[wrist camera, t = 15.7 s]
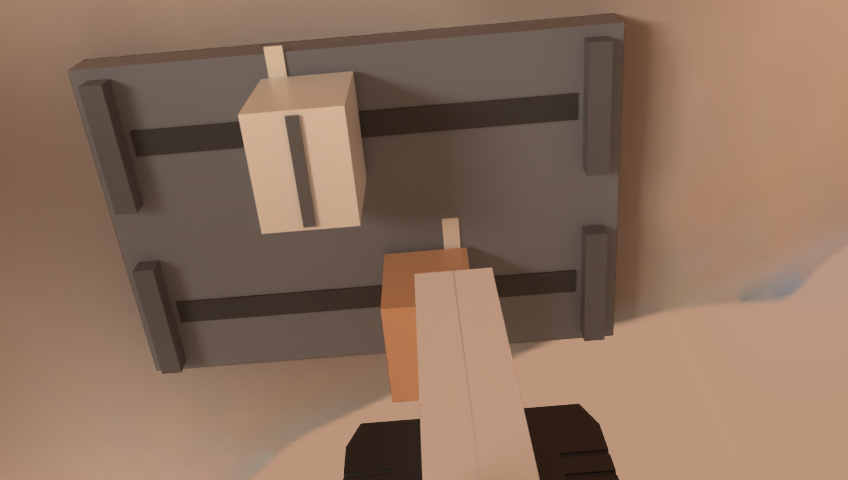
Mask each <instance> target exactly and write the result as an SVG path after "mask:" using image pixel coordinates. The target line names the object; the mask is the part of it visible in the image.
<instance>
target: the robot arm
mask: <svg viewBox="0 0 848 480" xmlns="http://www.w3.org/2000/svg"><path fill="white" fill-rule="evenodd" d="M414 277H415V303H416V328H417V354H418V379H419V403H420V419H413V420H400V421H388V422H376V423H363V424H360V426H359V428H358V429H357V431H356V432H355V434H354V435H353V437H352V439H351V440H350V442H349V443H348V445H347V447H346V455H345V467H344V479H343V480H619V479H618V476H617V475H616V472H615V467H614V465H613V462H612V459H611V456H610V455H609V453H608V447H607V445H606V442H605V439H604V436H603V433H602V431H601V428H600V425H599V423H598V422H597V421H596V420H595V419H594V418H593V417H592V416H591V415H589V414H588V412H587V411H586V410H585V409H584V408H583V407H582V406H580V404H572V405H571V404H570V405H558V406H547V407H534V408H523V404H522V399H521V395H520V390H519V386H518V381H517V377H516V372H515V368H514V364H513V359H512V355H511V350H510V346H509V341H508V337H507V332H506V328H505V323H504V319H503V315H502V310H501V306H500V301H499V297H498V292H497V288H496V284H495V279H494V275H493V270H492V267H491V268H479V269H467V270H455V271H443V272H432V273H420V274H414Z"/></svg>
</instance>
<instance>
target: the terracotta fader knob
mask: <svg viewBox="0 0 848 480" xmlns="http://www.w3.org/2000/svg"><path fill="white" fill-rule="evenodd" d="M467 269H470V267H469V260H468V253H467V247H465V248H453V249H441V250H428V251H416V252H403V253H391V254H384V265H383V280H382V296H381V316H382V324H383V332H384V339H385V347H386V355H387V363H388V371H389V379H390V386H391V394H392V402H402V401H415V400H419V379H418V354H417V328H416V303H415V277H414V274H420V273H432V272H443V271H455V270H467Z"/></svg>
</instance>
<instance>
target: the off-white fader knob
mask: <svg viewBox="0 0 848 480" xmlns="http://www.w3.org/2000/svg"><path fill="white" fill-rule="evenodd" d="M238 118H239V123H240V128H241V133H242V138H243V143H244V148H245V153H246V158H247V163H248V168H249V173H250V178H251V183H252V188H253V193H254V198H255V203H256V208H257V213H258V218H259V223H260V228H261V233H262V234H268V233H280V232H292V231H304V230H317V229H329V228H341V227H353V226H360V225H361V217H362V210H363V202H364V195H365V187H366V179H367V177H366V169H365V161H364V153H363V145H362V137H361V130H360V122H359V114H358V106H357V98H356V90H355V82H354V74H353V71H348V72H337V73H325V74H313V75H302V76H290V77H279V78H267V79H261V80H260V81H259V83H258V84H257V86H256V87H255V89H254V91H253V92H252V94H251V95H250V97H249V98H248V100H247V101H246V103H245V104H244V106H243V107H242V109H241V111H240V112H239V114H238Z"/></svg>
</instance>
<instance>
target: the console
mask: <svg viewBox="0 0 848 480" xmlns="http://www.w3.org/2000/svg"><path fill="white" fill-rule="evenodd" d="M624 24H625V22H623V21H622V20H621V19H620V18H618V17H617V16H616V15H615V14H601V15H590V16H579V17H567V18H556V19H544V20H533V21H521V22H510V23H498V24H487V25H475V26H464V27H452V28H441V29H429V30H418V31H407V32H395V33H384V34H372V35H361V36H349V37H338V38H326V39H315V40H303V41H292V42H280V43H269V44H257V45H246V46H234V47H223V48H212V49H200V50H189V51H177V52H166V53H154V54H143V55H131V56H120V57H108V58H97V59H85V60H83V61H82V62H80V63H79V64H77V65H76V66H74V67H73V68H71V69H69V70H68V75H69V78H70V81H71V85H72V88H73V91H74V95H75V98H76V102H77V105H78V108H79V112H80V115H81V118H82V122H83V125H84V128H85V132H86V135H87V138H88V142H89V145H90V148H91V152H92V155H93V159H94V162H95V165H96V169H97V172H98V175H99V179H100V182H101V185H102V189H103V192H104V195H105V199H106V202H107V206H108V209H109V212H110V216H111V219H112V222H113V226H114V229H115V232H116V236H117V239H118V242H119V246H120V249H121V253H122V256H123V259H124V263H125V266H126V269H127V273H128V276H129V279H130V283H131V286H132V289H133V293H134V296H135V300H136V303H137V306H138V310H139V313H140V316H141V320H142V323H143V326H144V330H145V333H146V336H147V340H148V343H149V347H150V350H151V353H152V357H153V360H154V363H155V367H156V370H157V371H160V370H161V372H162V374H164V373H177V372H182V370H183V369H186V368H199V367H211V366H224V365H237V364H250V363H263V362H276V361H289V360H302V359H314V358H327V357H340V356H353V355H366V354H379V353H386V347H385V339H384V332H383V324H382V316H381V296H382V280H383V265H384V254H391V253H403V252H416V251H428V250H441V249H453V248H465V247H467V253H468V260H469V267H470V269H479V268H491V267H492V270H493V275H494V279H495V284H496V288H497V292H498V297H499V301H500V306H501V310H502V315H503V319H504V323H505V328H506V332H507V337H508V341H509V343H520V342H533V341H546V340H559V339H572V338H584V341H589V340H601V339H604V336H611V335H613V325H614V297H615V270H616V243H617V215H618V188H619V161H620V134H621V106H622V79H623V52H624ZM348 71H353V74H354V82H355V90H356V98H357V106H358V114H359V122H360V130H361V137H362V145H363V153H364V161H365V169H366V177H367V179H366V187H365V195H364V202H363V210H362V217H361V225H360V226H353V227H341V228H329V229H317V230H304V231H292V232H280V233H268V234H262V233H261V228H260V223H259V218H258V213H257V208H256V203H255V198H254V193H253V188H252V183H251V178H250V173H249V168H248V163H247V158H246V153H245V148H244V143H243V138H242V133H241V128H240V123H239V118H238V114H239V112H240V111H241V109H242V107H243V106H244V104H245V103H246V101H247V100H248V98H249V97H250V95H251V94H252V92H253V91H254V89H255V87H256V86H257V84H258V83H259V81H260V80H261V79H267V78H279V77H290V76H302V75H313V74H325V73H337V72H348Z"/></svg>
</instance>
